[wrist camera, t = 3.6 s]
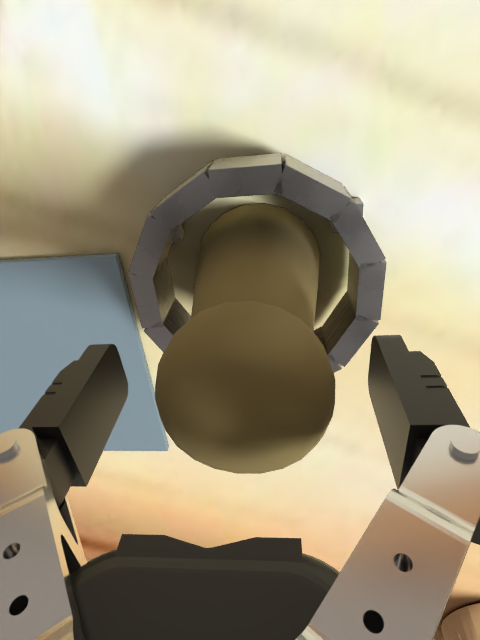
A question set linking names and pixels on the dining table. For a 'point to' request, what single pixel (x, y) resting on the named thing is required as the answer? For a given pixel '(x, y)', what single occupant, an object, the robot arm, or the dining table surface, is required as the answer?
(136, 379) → the rubber mat
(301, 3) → the dining table surface
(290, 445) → the cork
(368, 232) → the grey segmented ring
